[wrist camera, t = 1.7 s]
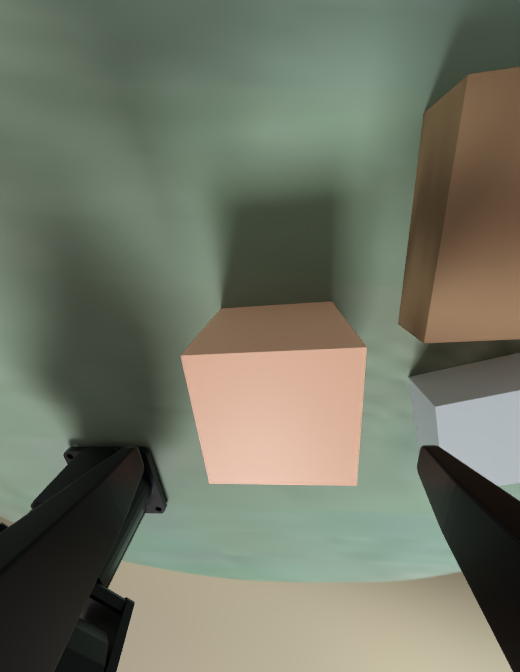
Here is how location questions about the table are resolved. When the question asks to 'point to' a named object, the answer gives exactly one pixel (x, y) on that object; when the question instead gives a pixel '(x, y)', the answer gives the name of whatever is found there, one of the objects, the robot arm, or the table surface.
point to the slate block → (473, 415)
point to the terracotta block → (278, 395)
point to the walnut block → (467, 216)
